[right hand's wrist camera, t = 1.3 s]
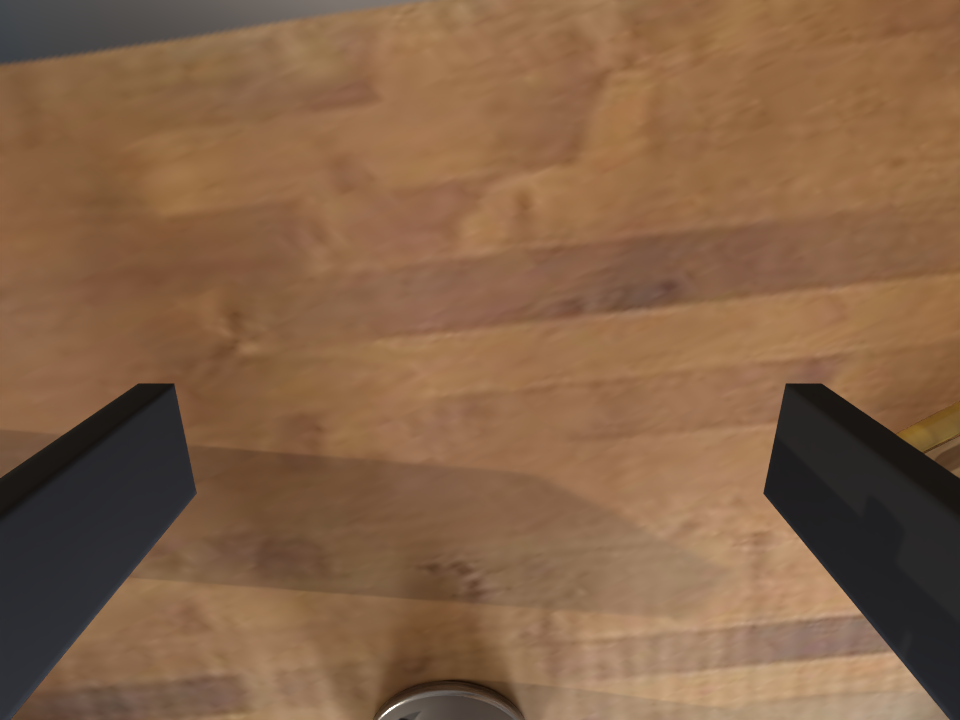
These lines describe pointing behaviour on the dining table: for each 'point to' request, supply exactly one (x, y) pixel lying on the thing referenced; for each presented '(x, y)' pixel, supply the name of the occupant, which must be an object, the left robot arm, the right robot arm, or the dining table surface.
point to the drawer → (938, 437)
